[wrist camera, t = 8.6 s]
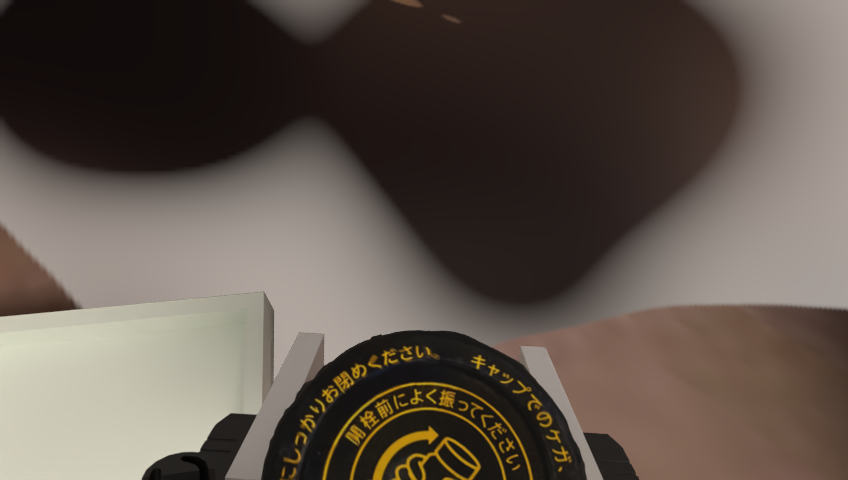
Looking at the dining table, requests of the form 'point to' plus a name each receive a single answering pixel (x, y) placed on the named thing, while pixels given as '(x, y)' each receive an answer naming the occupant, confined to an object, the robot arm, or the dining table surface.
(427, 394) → the condiment
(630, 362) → the dining table surface
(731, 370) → the dining table surface
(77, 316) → the tray
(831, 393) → the dining table surface
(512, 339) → the dining table surface
